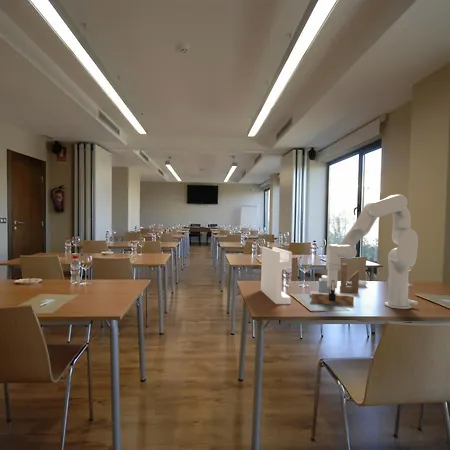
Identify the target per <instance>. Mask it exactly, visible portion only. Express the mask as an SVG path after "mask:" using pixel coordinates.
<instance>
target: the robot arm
mask: <svg viewBox="0 0 450 450" xmlns="http://www.w3.org/2000/svg"><path fill="white" fill-rule="evenodd" d="M407 206H408V198H407V197H406V196H405V195H403V194H393V195H388V196H387V197H385V198H383V199H381V200H376V201H369V202H368V203H366V204H365V206H364V207H363V208H362V210H361V212H360V213H359V215H358V217H357V219H356V221H355V222H354V223H353V226H351V228H350V230H349V231H348V232H347V233H346V235H345V236H344V238H343V239H342V241H341V242H340V244H334V243H333V244H332V243H330V244H327V245H326V254H325V255H326V256H325V261H326V262H325V269H326V270H327V275H326V276H327V287H328V288H329V287H330V288H329V301H335V295H336V294H335V293H336V289H337V287H338V277H339V276H338V274H339V271H341V259H348V260H353V259H354V258H355V257H356V256H357V254H358V251H357V249H356V245H358V243H359V241H360V240H361V239H362V238H364V237H365V236H366V235H368V234H369V232H370V231H371V230H372V227H373V226H374V224H375V222H376V220H377V219H378V218H381V217H387V216H388V215H389V216H390V215H391V216H392V232H391V240H392V242H393V243H394V244H395V245H397V247H395V248H392V249H391V250H390V251H389V252H388V255H387V263H388V285H387V286H388V287H387V288H388V291H387V301H385V302H384V306H386V307H388V308H393V309H397V310H409V309H411V308H412V305H414V306H416V305H419V302H418V301H417V300H411V299H409V298H408V297H409V273H410V272H409V269H410V268H412V267H413V266H414V265H415V264H416V261H417V259H418V258H417V256H418V247H419V236H418V234H417V232H416V231H415V230H414V229H412V228H411V225H412V224H411V223H412V220H411V219H412V217H411V212H410V211H409V208H408V207H407Z"/></svg>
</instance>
